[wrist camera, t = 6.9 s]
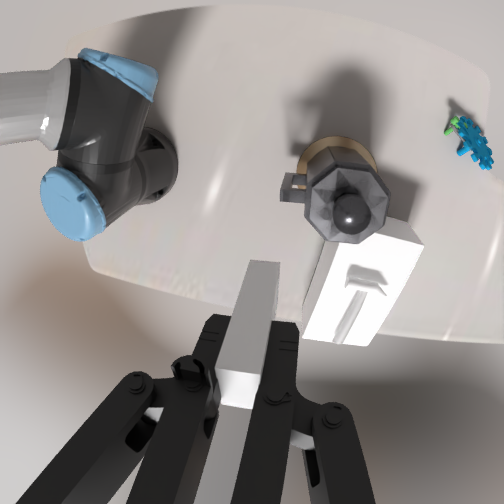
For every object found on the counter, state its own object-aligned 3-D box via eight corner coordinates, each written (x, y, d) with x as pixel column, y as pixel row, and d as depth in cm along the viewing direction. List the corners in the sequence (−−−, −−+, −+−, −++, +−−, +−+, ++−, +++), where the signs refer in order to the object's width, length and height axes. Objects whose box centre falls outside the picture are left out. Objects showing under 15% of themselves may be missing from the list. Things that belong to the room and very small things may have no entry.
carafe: (285, 202, 47) (276, 240, 36) (288, 141, 42) (280, 156, 30) (363, 210, 45) (381, 250, 33) (372, 150, 40) (397, 170, 28)
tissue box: (407, 221, 45) (429, 253, 36) (361, 317, 59) (368, 354, 50) (336, 203, 45) (348, 233, 36) (301, 308, 59) (301, 346, 50)
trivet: (294, 210, 48) (293, 211, 48) (298, 132, 41) (298, 132, 41) (370, 218, 46) (370, 220, 46) (381, 142, 39) (382, 142, 39)
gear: (496, 146, 31) (495, 179, 29) (476, 158, 37) (471, 190, 35) (459, 101, 31) (455, 127, 29) (440, 116, 37) (432, 144, 34)
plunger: (313, 203, 43) (314, 244, 32) (317, 155, 39) (321, 179, 28) (359, 208, 42) (377, 250, 30) (366, 161, 38) (390, 188, 26)
